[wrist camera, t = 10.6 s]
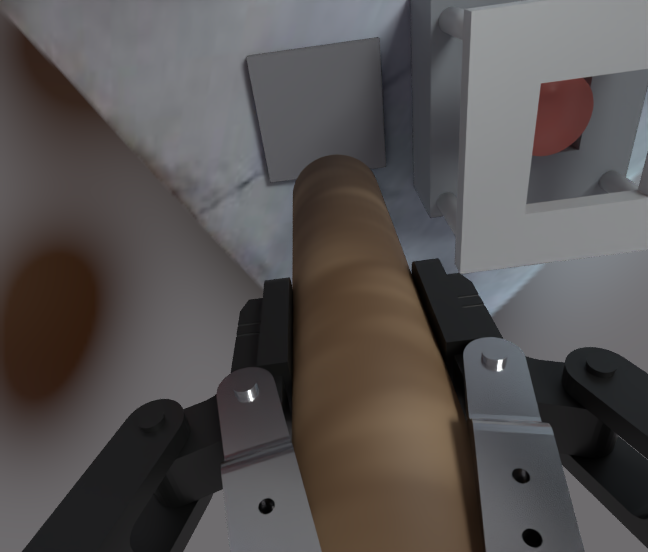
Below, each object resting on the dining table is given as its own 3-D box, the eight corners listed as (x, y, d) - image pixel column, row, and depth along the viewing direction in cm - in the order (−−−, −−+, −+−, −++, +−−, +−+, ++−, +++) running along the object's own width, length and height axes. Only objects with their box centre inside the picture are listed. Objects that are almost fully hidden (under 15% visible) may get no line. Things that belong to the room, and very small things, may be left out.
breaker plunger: (555, 50, 28) (601, 65, 24) (545, 124, 31) (585, 150, 26) (481, 60, 28) (513, 77, 24) (477, 134, 31) (505, 161, 27)
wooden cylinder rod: (376, 148, 19) (570, 595, 6) (380, 228, 21) (532, 697, 8) (286, 160, 19) (268, 628, 6) (299, 239, 21) (309, 721, 8)
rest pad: (377, 37, 29) (379, 38, 28) (384, 163, 33) (386, 166, 33) (246, 55, 29) (246, 57, 29) (270, 179, 33) (270, 182, 33)
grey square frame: (618, -36, 27) (793, -35, 18) (581, 164, 34) (694, 243, 24) (410, -6, 28) (471, 11, 18) (413, 186, 34) (460, 274, 25)
